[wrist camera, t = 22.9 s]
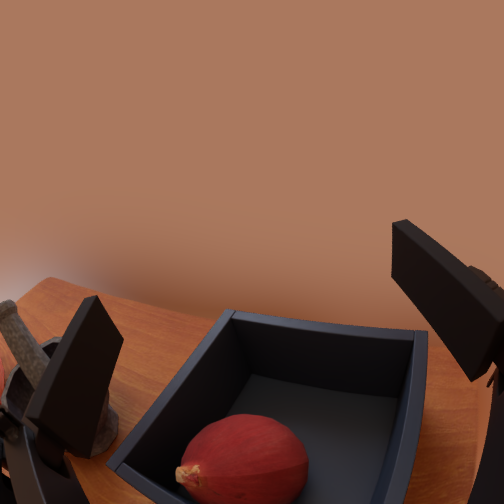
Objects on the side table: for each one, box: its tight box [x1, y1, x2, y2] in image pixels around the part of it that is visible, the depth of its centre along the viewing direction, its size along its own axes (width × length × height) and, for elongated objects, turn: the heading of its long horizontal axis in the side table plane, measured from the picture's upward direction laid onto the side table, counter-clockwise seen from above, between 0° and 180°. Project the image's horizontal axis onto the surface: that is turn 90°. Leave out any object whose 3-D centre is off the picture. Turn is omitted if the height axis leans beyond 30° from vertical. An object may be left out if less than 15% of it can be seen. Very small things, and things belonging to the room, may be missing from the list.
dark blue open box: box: [106, 309, 428, 504], centre depth 12 cm, size 13×13×7 cm
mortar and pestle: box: [0, 300, 118, 457], centre depth 15 cm, size 11×9×12 cm
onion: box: [176, 414, 309, 504], centre depth 10 cm, size 6×6×8 cm
